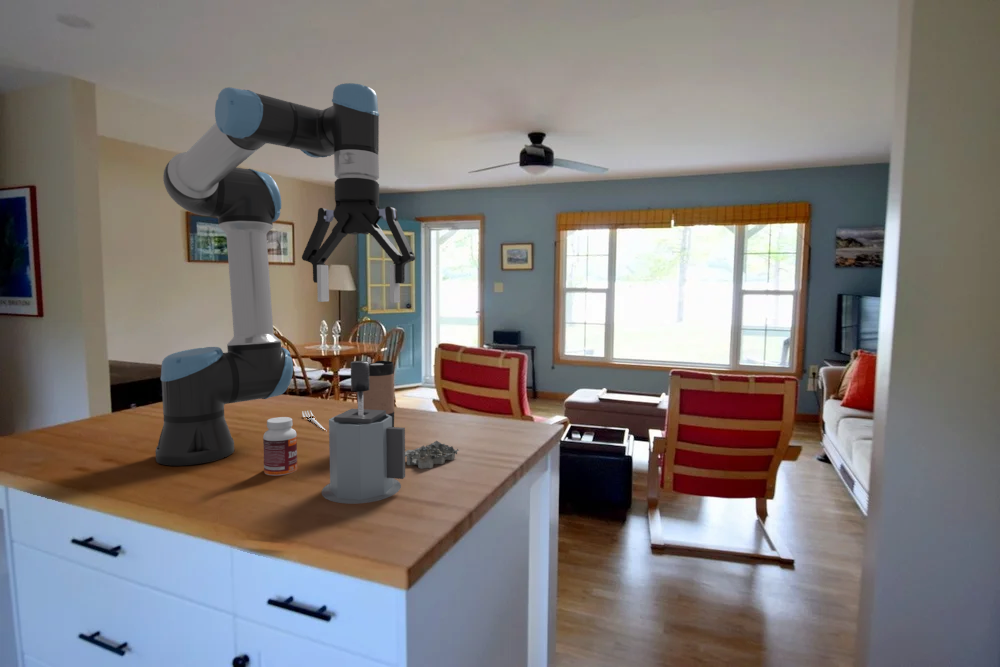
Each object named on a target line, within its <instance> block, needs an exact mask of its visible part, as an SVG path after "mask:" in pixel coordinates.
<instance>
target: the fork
mask: <svg viewBox="0 0 1000 667" xmlns="http://www.w3.org/2000/svg"><path fill="white" fill-rule="evenodd" d="M301 412H302V413H301V414H302V418H303V417H308V418H309V417H310V416H311V418H309V419H308V420H309V421H310V420H311V422H312V421H313V422H314V423H315V424H317V425H318V426H319V427H320V428H322V429H324V430H326V428H324V427H323V425H322V424H321V423H319V421H317V419H316V420H315V418H316V417H315V416H314V414H313V413H312V410H311V409H309V410H307V411H306V410H304V411H303V410H302V411H301ZM312 416H314V417H315V418H312ZM313 422H312V423H313ZM314 423H313V424H314ZM315 424H314V425H315ZM318 426H317V427H318ZM319 427H318V428H319ZM320 428H319V429H320ZM322 429H321V430H322Z"/></svg>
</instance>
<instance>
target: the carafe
mask: <svg viewBox="0 0 1000 667" xmlns="http://www.w3.org/2000/svg"><path fill="white" fill-rule="evenodd" d="M358 423H364V424H363V425H358ZM328 437H329V441H328V442H329V444H328V445H329V483H330V490H331V491H332V492H333V493H334V494H335V495H336V496H337V497H338V498H346V499H358V500H362V499H366V498H371V497H375V496H380V495H384V494H385V493H386V492H387V491H388V490H389V489H390V488H391V487H392V486H393V478H394V479H396V480H397V479H398V480H400V479H401V480H403V479H405V478H406V457H405V451H406V427H398V426H397V427H396V426H394V427H392V416H390V415H388V414H386V410H369V409H364V415H358V408H350V409H348V410H345V411H344V412H342V413H339V414H337V415H335V416H333V417H331V418H329V419H328Z"/></svg>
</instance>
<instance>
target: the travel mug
mask: <svg viewBox="0 0 1000 667" xmlns="http://www.w3.org/2000/svg"><path fill="white" fill-rule="evenodd" d="M394 371H395V370H394V362H393V361H389V360H377V361H375V362H373V363H369V386H370V390H368V391H363V406H364V409H369V410H386V414H388V415H390V416H392V427H395V379H394V378H395V377H394V375H395V374H394V373H395V372H394Z"/></svg>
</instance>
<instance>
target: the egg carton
mask: <svg viewBox="0 0 1000 667" xmlns="http://www.w3.org/2000/svg"><path fill="white" fill-rule="evenodd" d="M458 452H460V450H459V449H458V448H456V449H454V447H453V445H452V446H451V445H450V446H449V445H448V444H445V443H441V442H440V441H438V440H435V441H434V442H432V443H430V444H426V445H422V446H420V447H417V448H415V449H408V450H407V449H406V450H405V458H406V465H407V466H418V469H432V468H434V465H443V464H445V461H449V460H450V461H453V460H455V458H456V455H457V454H458Z"/></svg>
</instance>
